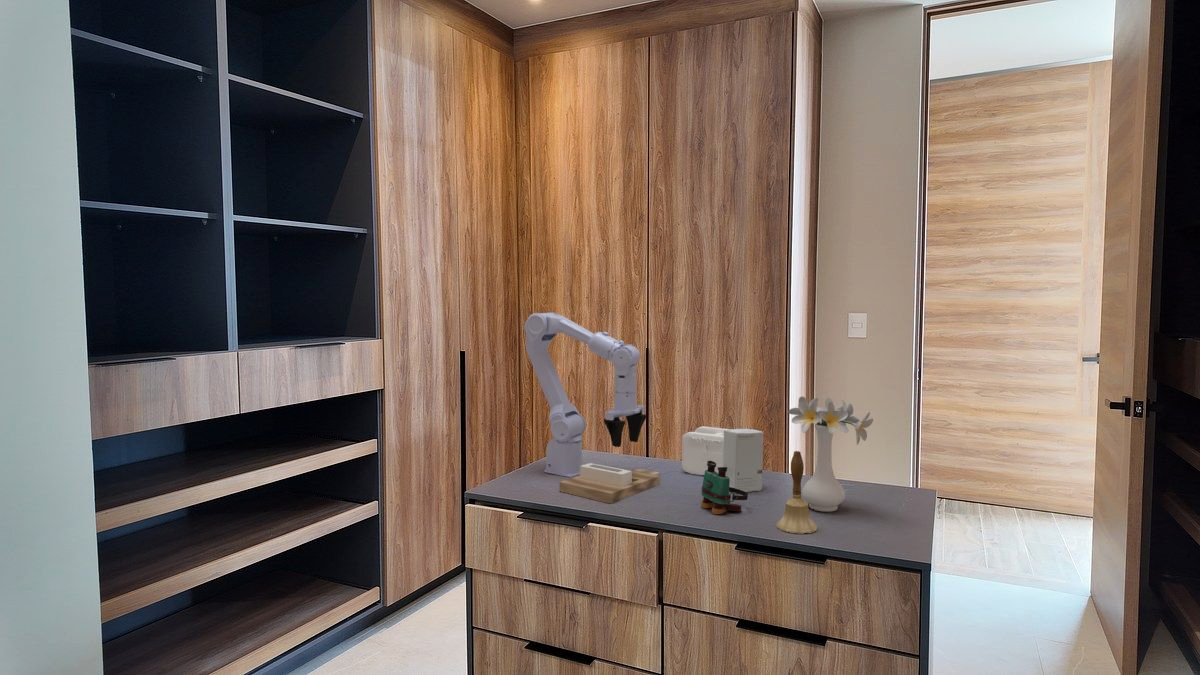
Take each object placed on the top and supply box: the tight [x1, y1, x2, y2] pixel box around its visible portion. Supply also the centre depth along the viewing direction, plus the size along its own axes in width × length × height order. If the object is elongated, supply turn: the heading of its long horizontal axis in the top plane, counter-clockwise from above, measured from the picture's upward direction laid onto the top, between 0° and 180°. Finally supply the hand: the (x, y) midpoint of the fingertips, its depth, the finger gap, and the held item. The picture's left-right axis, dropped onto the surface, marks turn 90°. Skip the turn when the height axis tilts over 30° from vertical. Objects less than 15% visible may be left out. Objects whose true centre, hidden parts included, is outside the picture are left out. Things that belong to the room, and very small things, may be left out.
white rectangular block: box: [579, 462, 633, 487], centre depth 174 cm, size 13×4×5 cm, turn 52°
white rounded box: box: [681, 425, 730, 476], centre depth 190 cm, size 15×11×12 cm
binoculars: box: [700, 461, 749, 515], centre depth 159 cm, size 9×11×10 cm
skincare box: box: [723, 428, 764, 494], centre depth 175 cm, size 8×6×15 cm
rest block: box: [633, 468, 661, 480], centre depth 184 cm, size 6×3×2 cm, turn 52°
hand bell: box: [775, 450, 818, 535], centre depth 146 cm, size 8×8×16 cm
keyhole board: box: [559, 466, 660, 504], centre depth 175 cm, size 20×16×2 cm
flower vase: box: [787, 396, 874, 513], centre depth 159 cm, size 13×18×25 cm
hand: (625, 443), depth 183 cm, fingers open, 7 cm apart
